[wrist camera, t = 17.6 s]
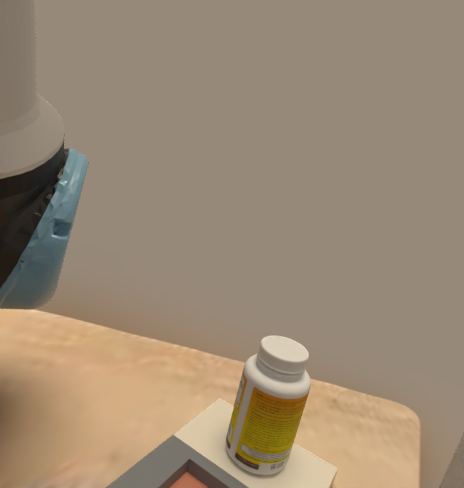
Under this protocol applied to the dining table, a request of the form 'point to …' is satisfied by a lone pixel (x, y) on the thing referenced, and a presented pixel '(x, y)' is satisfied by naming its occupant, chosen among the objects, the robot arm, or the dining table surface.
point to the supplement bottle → (269, 406)
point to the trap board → (218, 461)
